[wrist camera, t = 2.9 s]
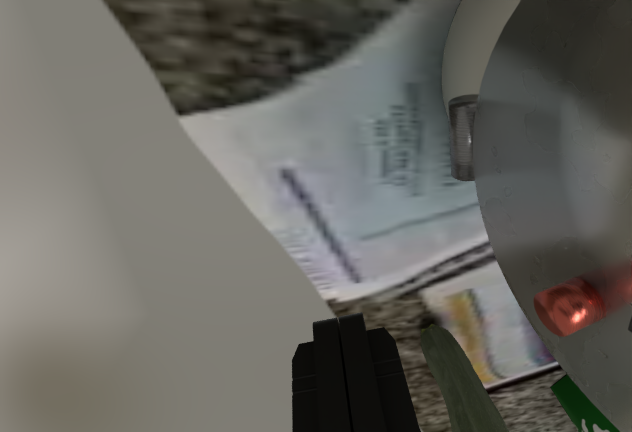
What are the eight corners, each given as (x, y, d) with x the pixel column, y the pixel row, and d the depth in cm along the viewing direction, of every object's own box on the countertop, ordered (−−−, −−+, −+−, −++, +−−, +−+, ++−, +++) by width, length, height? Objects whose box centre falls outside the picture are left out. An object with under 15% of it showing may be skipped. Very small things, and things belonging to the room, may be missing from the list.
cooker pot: (429, -145, 22) (517, -209, 13) (785, -245, 20) (1137, -389, 12) (449, 226, 35) (499, 312, 26) (665, 180, 34) (790, 255, 25)
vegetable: (417, 306, 40) (510, 560, 23) (459, 305, 40) (582, 555, 23) (410, 337, 42) (490, 587, 26) (450, 336, 43) (556, 582, 26)
